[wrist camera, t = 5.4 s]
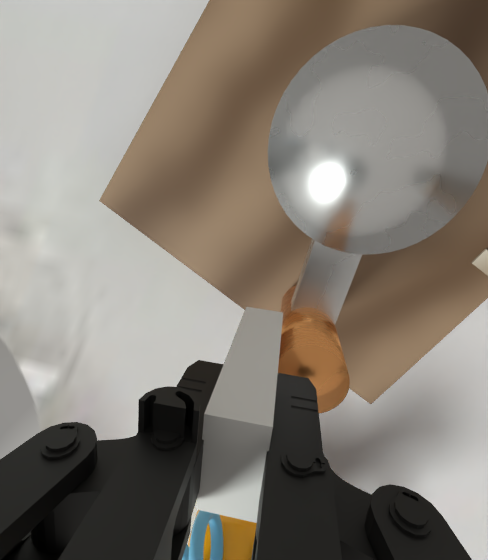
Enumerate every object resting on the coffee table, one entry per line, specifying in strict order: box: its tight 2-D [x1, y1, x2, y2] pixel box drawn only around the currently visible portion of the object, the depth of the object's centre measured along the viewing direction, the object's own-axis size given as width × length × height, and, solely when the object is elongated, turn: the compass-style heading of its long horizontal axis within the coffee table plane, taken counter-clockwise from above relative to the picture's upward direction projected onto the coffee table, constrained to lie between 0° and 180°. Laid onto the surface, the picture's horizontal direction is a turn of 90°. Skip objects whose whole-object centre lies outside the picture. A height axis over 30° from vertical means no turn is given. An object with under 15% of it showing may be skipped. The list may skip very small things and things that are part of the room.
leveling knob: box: [268, 25, 488, 413], centre depth 14 cm, size 13×8×8 cm, turn 165°
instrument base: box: [99, 0, 488, 404], centre depth 17 cm, size 20×20×4 cm
